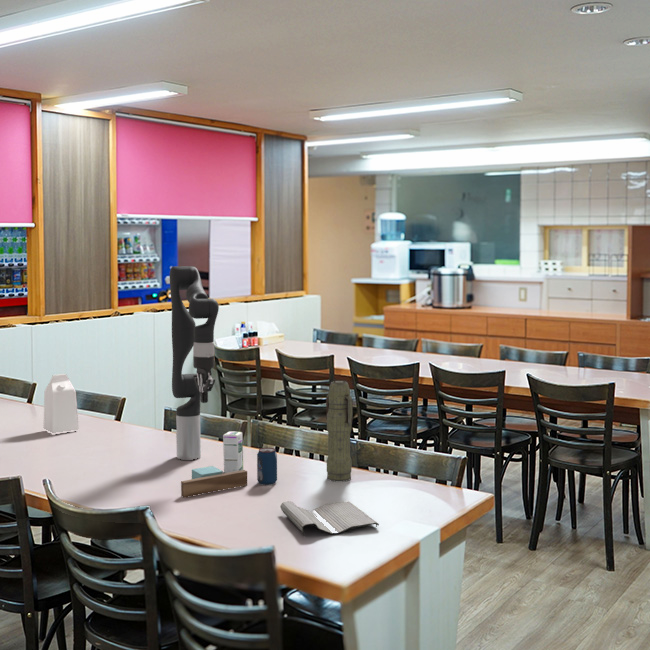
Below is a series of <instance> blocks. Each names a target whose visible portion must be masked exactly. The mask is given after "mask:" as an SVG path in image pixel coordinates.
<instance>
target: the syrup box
mask: <svg viewBox="0 0 650 650" xmlns="http://www.w3.org/2000/svg"><path fill="white" fill-rule="evenodd" d="M222 438H223V439H222V441H223V442H222V443H223V473H229V472H234V471H239V470H244V450H243V449H244V446H243V443H244V442H243V439H244V438H243V432H242V431H234V430H233V431H227V432H226V433H224V434H223V435H222Z"/></svg>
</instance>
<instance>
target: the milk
mask: <svg viewBox="0 0 650 650" xmlns="http://www.w3.org/2000/svg"><path fill="white" fill-rule="evenodd" d="M43 399H44V401H43V428H44V429H46V430H48V431H50V432H52V433H56V432H63V431H71V430H78V429H79V428H80V426H79V413H78V400H77V391H76V389H75V387H74V386H73V383H72V381H70V378H69V377H68V375H67V374H66V373H62V374H53V375H52V376H51V379H50V381H49V383H48V385H47V386H46V387H45V390H44V398H43ZM79 430H80V429H79Z"/></svg>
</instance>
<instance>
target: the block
mask: <svg viewBox="0 0 650 650" xmlns="http://www.w3.org/2000/svg"><path fill="white" fill-rule="evenodd" d="M223 473H224V470H221V469H220V468H218V467H216V466H214V465H212V466H211V465H209V466H205V467H198V468H192V469H191V479H196V478H202V477H207V476H212V475H218V474H223Z"/></svg>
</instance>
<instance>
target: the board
mask: <svg viewBox="0 0 650 650" xmlns="http://www.w3.org/2000/svg"><path fill="white" fill-rule="evenodd" d="M245 485H246V486H248V471H247V470H245V469H243V470H239V471H234V472H229V473H224V472H223V474H218V475H212V476H207V477H202V478H196V479H192V478H191V479H186V480H182V481H180V490H181V492H180V493H181V494H180V495H181V497H182V496H183V497H182V498H184V497H186V498H189V497H188V496H191V497H194V496H193V495H196V496H199V495H198V494H201V495H203V494H202V493H206V494H209V493H208V492H211V493H214V492H213V491H216V492H219V491H218V490H221V491H224V490H223V489H226V490H229V489H228V488H231V489H235V488H234V487H236V488H241V487H246V486H245ZM240 486H241V487H240Z"/></svg>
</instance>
